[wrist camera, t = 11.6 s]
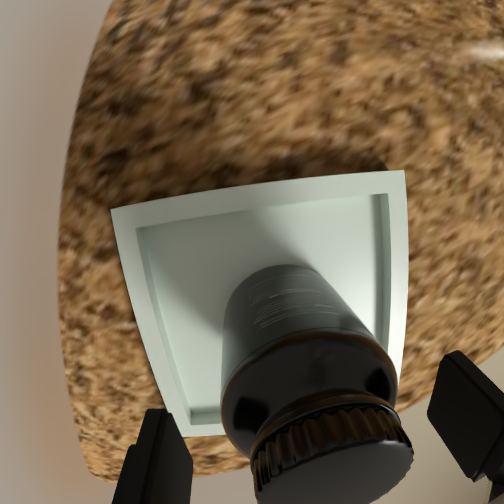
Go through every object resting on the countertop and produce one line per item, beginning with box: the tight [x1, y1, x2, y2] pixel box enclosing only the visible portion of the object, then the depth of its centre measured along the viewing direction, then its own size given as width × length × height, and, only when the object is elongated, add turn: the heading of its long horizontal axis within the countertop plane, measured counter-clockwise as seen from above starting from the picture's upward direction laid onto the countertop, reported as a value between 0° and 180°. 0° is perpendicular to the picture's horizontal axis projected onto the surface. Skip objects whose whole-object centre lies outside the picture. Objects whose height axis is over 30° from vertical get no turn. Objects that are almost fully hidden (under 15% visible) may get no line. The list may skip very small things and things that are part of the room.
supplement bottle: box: [220, 264, 414, 504], centre depth 12 cm, size 7×7×12 cm
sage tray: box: [111, 170, 408, 437], centre depth 18 cm, size 16×16×2 cm
